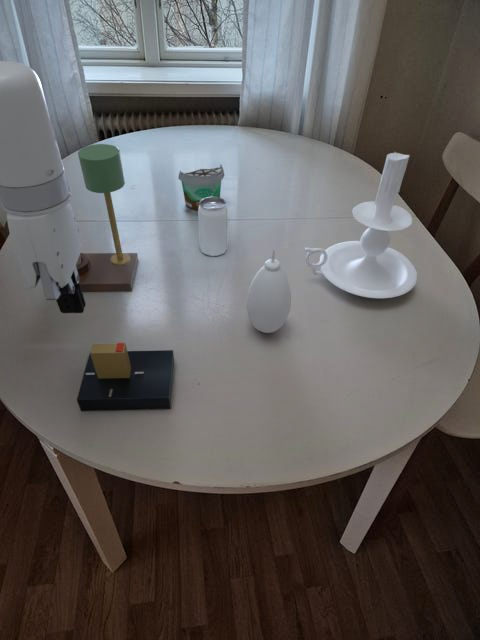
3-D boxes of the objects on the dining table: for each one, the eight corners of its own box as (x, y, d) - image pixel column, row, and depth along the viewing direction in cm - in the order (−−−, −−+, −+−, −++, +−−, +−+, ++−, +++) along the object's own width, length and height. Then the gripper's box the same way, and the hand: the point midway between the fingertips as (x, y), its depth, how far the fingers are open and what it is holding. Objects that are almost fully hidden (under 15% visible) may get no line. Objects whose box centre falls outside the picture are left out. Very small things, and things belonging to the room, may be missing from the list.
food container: (188, 217, 112) (185, 180, 105) (180, 206, 116) (177, 170, 109) (231, 208, 116) (231, 172, 109) (222, 198, 120) (222, 163, 113)
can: (225, 240, 104) (225, 194, 96) (229, 256, 99) (229, 209, 91) (198, 242, 103) (196, 196, 95) (201, 258, 99) (199, 211, 90)
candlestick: (290, 254, 100) (306, 131, 81) (392, 250, 103) (430, 129, 84) (310, 313, 86) (335, 180, 66) (428, 307, 88) (485, 176, 69)
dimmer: (80, 411, 67) (76, 399, 65) (93, 363, 75) (89, 350, 73) (170, 409, 68) (168, 397, 66) (174, 361, 75) (173, 349, 73)
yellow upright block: (98, 378, 68) (89, 352, 64) (100, 369, 70) (92, 342, 66) (129, 378, 69) (123, 351, 64) (131, 368, 70) (125, 342, 66)
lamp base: (53, 292, 88) (47, 277, 86) (66, 261, 96) (61, 246, 94) (132, 291, 89) (129, 276, 86) (138, 260, 97) (136, 246, 94)
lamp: (100, 270, 88) (73, 159, 72) (106, 251, 93) (82, 143, 77) (135, 270, 88) (116, 160, 72) (139, 251, 93) (122, 144, 77)
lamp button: (61, 267, 89) (59, 260, 87) (66, 257, 91) (64, 250, 90) (79, 267, 89) (77, 260, 88) (83, 257, 91) (81, 250, 90)
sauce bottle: (264, 309, 86) (271, 231, 74) (295, 328, 82) (307, 249, 70) (237, 328, 82) (240, 248, 70) (268, 349, 78) (276, 269, 66)
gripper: (21, 161, 54) (60, 278, 67) (-27, 222, 43) (30, 348, 56) (81, 161, 55) (109, 277, 67) (48, 222, 44) (89, 346, 56)
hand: (73, 309), depth 61 cm, fingers closed
